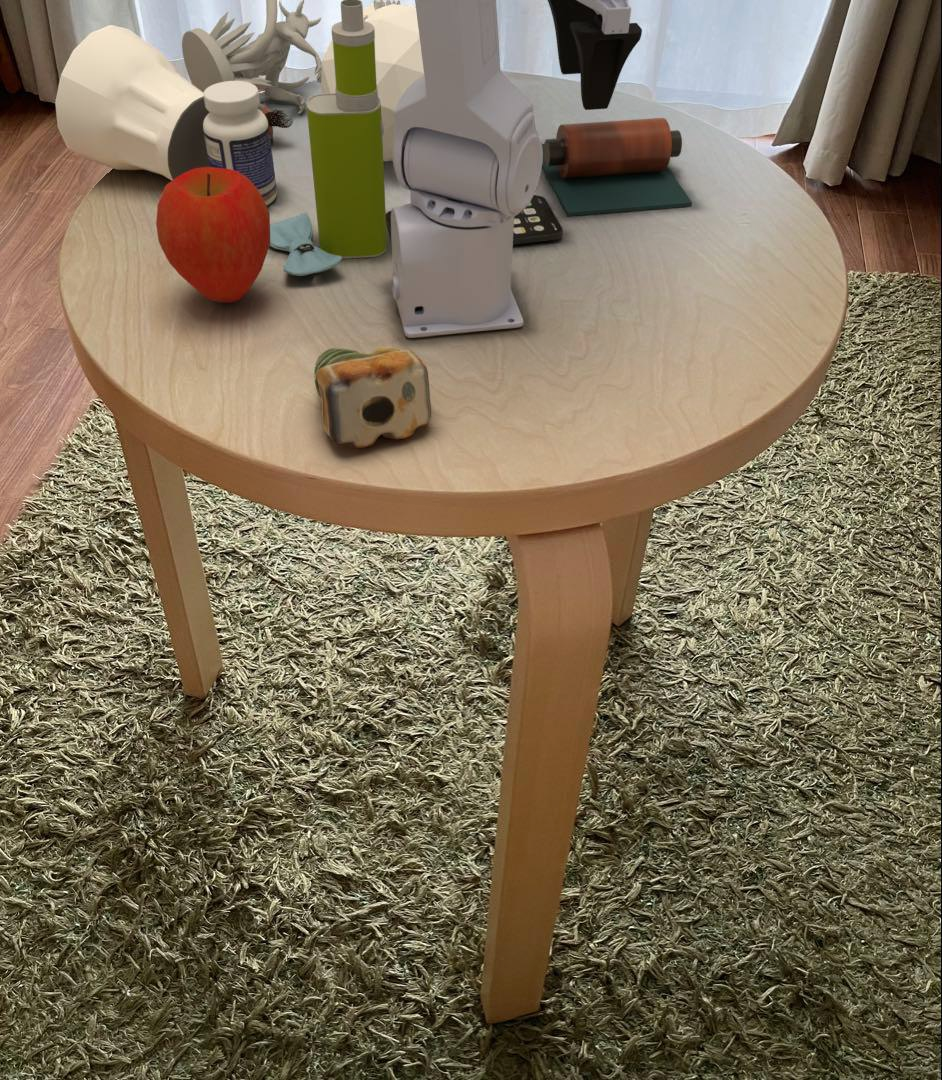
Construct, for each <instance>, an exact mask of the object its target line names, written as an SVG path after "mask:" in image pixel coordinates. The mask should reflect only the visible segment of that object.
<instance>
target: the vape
mask: <svg viewBox="0 0 942 1080" xmlns="http://www.w3.org/2000/svg"><path fill="white" fill-rule="evenodd" d="M363 9H364V7H363V2H362V0H341V1H340V14H341V15H340V16H341V21H339V22H336V23H334V24H333V25H332V26H331V40H332V39H333V51H334V64H335V78H336V90H335V92H336V93H329V94H321V93H317V94H314V95H311V96H310V97H308V99H306V100H307V101H306V102H305V104H306V113H307V115H306V116H307V125H308V126H307V127H308V135H309V136H308V137H309V146H310V155H311V167H312V168H311V169H312V178H313V179H312V180H313V189H314V190H313V191H314V199H315V210H316V211H315V212H316V220H317V221H316V222H317V233H318V243H319V248H320V249H322V250H323V251H325V252H327V253H329V254H333V255H337V256H342V259H357V258H358V259H359V258H376V257H380V256H382V255H383V254H385V252H386V251H387V248H388V239H387V238H388V237H387V224H386V213H387V212H386V192H385V191H386V190H385V169H384V167H385V166H384V161H383V141H382V137H383V134H384V126H383V122H382V117H381V101H380V99H379V97H378V89H377V85H376V63H375V41H374V39H375V30H374V26H373V25H372V24H370V23H368V22H365V21H363Z"/></svg>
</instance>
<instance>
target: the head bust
mask: <svg viewBox="0 0 942 1080" xmlns="http://www.w3.org/2000/svg"><path fill="white" fill-rule="evenodd" d="M263 105H264V109H263V111H261V112H262V113H263V114H264V115H265V116H266V118H267V121H268V126H269V133H270V138H271V140H272V141H274V128H275V127H278V128H280V129H289V128H290V127H292V125H293V123H294V120H295V119H296V115H293V116H292V115H288V114H287V111H286V110H284V109H273V110H271V111H269V110H270V109H269V108H268V105H267V104H266V102H265V101H263ZM268 109H269V110H268Z"/></svg>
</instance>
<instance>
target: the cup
mask: <svg viewBox="0 0 942 1080" xmlns="http://www.w3.org/2000/svg"><path fill="white" fill-rule="evenodd" d="M57 87H58V88H57V92H56V97H55V102H54V103H55V116H56V123H57V124H56V125H57V130H58V131H59V134H60V135H61V138H62V140H63V142H64V145H65V146H66V149H68V150H70V151H71V152H73V153H74V154H75V155H76V156H78V157H80V159H84V160H88V161H90V162H93V163H96V164H98V165H102V166H105V167H108V168H111V169H114V170H118V171H142V170H143V171H147V172H150V173H153V174H157V175H160V176H163V177H165V178H167V179H168V180H170V182H171V181H173V180H174V179H175V178H177V177H178V176H180V175H181V174H183V173H185V172H187V171H190V170H192V169H195V168H202V167H210V165H209V160H208V154H207V148H206V142H205V137H204V130H203V122H204V119H205V117H206V116H207V115H208V114H209V111H208V110H207V109H206V107H205V101H204V93H203V92H202V91H201V90H199V89H198V88H197V87H195V86H194V85H193V84H192V83H191V81H190V80H187V79H186V78H185V77H184V76H182V75H181V74H180V73H179V72H178V70H177V68H176V67H175V66H174V64H173V63H172V62H171V61H170V60H169V59H168V58H167V57H166V56H165V55H164V54H163V53H162V51H160V50H158V49H157V48H155V47H154V46H153V45H151V44H150V43H149V42H147V41H146V40H145V39H144V38H142V37H141V36H139V35H137V34H136V33H135V32H134V31H132V30H131V29H129V28H127V27H122V26H117V25H113V24H110V25H107V26H104V27H102V28H100V29H96V30H94V31H91V32H90V33H89V34H88V35H87V36H86V37H85V38H83V40H82V41H81V42H80V43H79V44H77V46H75V48H74V49H73V50H72V52H71V53H70V56H69V58H68V60H67V62H66V64H65V65H64V67H63V70H62V71H61V74H60V77H59V81H58V86H57Z"/></svg>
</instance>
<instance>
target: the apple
mask: <svg viewBox="0 0 942 1080" xmlns="http://www.w3.org/2000/svg"><path fill="white" fill-rule="evenodd" d="M270 214H271V213H270V210H269V209H268V205H267V206H266V204H265V202H264V200H263V197H262V195H261V194H260V192H259V191H258V189H257V188H256V187H255V186H254V184H253V183H252V182H251V181H250V180H249V179H248V178H247V177H246V176H244V175H242V174H241V173H239V172H237V171H234V170H232V169H223V168H214V167H202V168H195V169H192V170H190V171H187V172H185V173H183V174H181V175H180V176H178V177H177V178H175V179H174V180H173V181H171V180H170V181H169V182H168V183H167V184H166V185H164V188H163V191H162V193H161V196H160V197H159V200H158V203H157V209H156V223H155V226H156V232H157V233H156V234H157V240H158V243H159V245H160V248H161V250H162V252H163V254H164V256H165V257H166V259H167V262H168V263H169V264H170V265H171V267H172V268H173V269H174V270H175V271H176V272H177V274H178V275H179V276H180V277H181V278H183V279H184V280H185V281H186V282H187V283H188V284H189V285H190V286H192V287H193V288H194V289H195V290H196V291H197V292H199V294H201V295H203V297H205V298H206V299H209V300H210V301H213V302H216V303H234V302H237V301H239V300H241V299H242V298H243V297H244V296H245V294H246V293H248V291H249V290H250V289H251V288H252V285H254V283H255V281H256V280H257V278H258V276H259V275H260V273H261V271H262V269H263V266H264V263H265V261H266V258H267V254H268V251H269V248H270V225H271V215H270Z"/></svg>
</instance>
